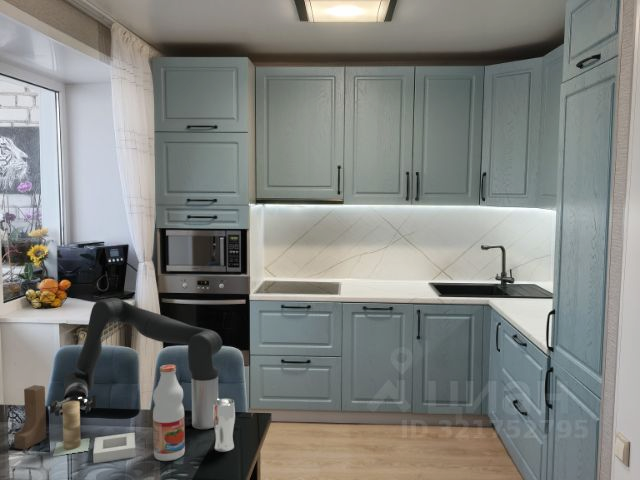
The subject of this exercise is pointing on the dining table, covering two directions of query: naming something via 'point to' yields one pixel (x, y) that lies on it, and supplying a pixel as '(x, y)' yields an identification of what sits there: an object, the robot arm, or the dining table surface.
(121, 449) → the white square frame
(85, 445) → the sage mat
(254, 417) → the dining table surface
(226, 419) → the beer glass
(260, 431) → the dining table surface
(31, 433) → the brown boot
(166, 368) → the fruit juice
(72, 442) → the wooden peg
